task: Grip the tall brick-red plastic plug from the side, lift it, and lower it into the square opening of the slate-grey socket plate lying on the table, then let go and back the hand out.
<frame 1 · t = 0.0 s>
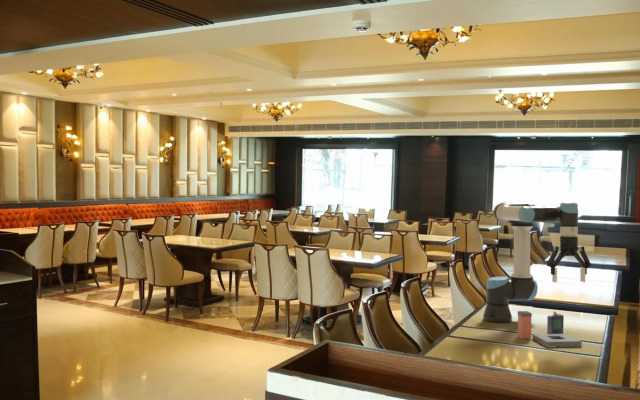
hand: (568, 281, 257), 28 cm above the table, tool pointing down, fingers open, 13 cm apart
socket plate: (556, 343, 256), on the table
flask: (555, 333, 274), on the table
plug: (524, 337, 266), on the table
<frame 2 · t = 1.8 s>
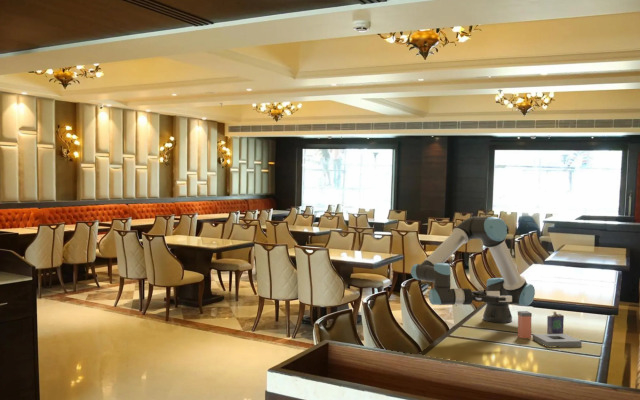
hand: (505, 296, 265), 20 cm above the table, tool horizontal, fingers open, 13 cm apart
nothing on the table moved.
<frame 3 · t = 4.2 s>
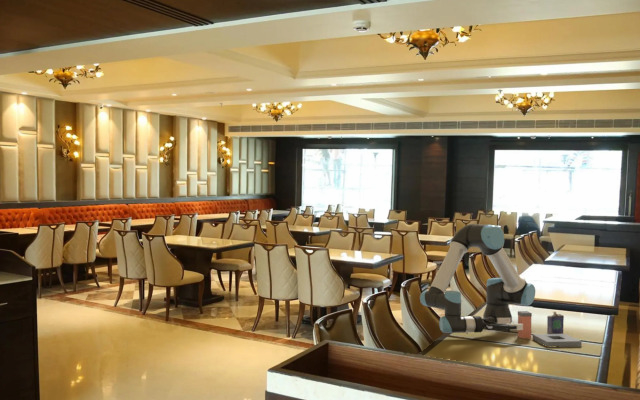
hand: (516, 323, 265), 7 cm above the table, tool horizontal, fingers open, 13 cm apart
nothing on the table moved.
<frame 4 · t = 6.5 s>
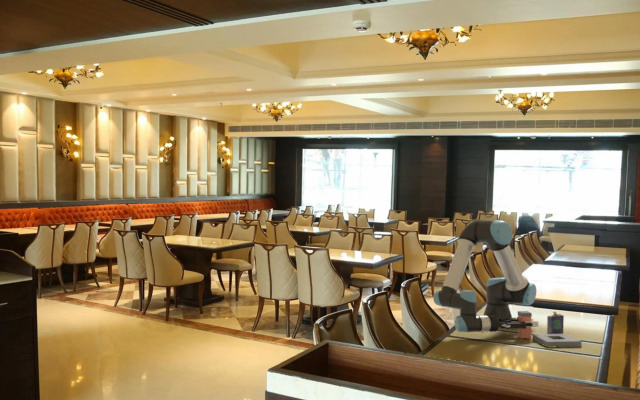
hand: (535, 322, 266), 7 cm above the table, tool horizontal, fingers closed on plug, 4 cm apart
plug: (524, 337, 266), on the table, touching gripper
everything else where it was.
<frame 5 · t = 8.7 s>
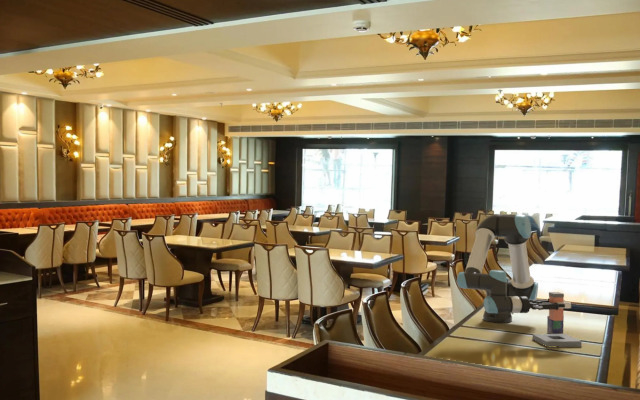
hand: (567, 304, 256), 18 cm above the table, tool horizontal, fingers closed on plug, 4 cm apart
plug: (556, 319, 256), point 11 cm above the table, touching gripper
everything else where it was.
when the fingers open (8 cm above the table, at t = 11.0 s): plug drops 1 cm, resting in socket plate.
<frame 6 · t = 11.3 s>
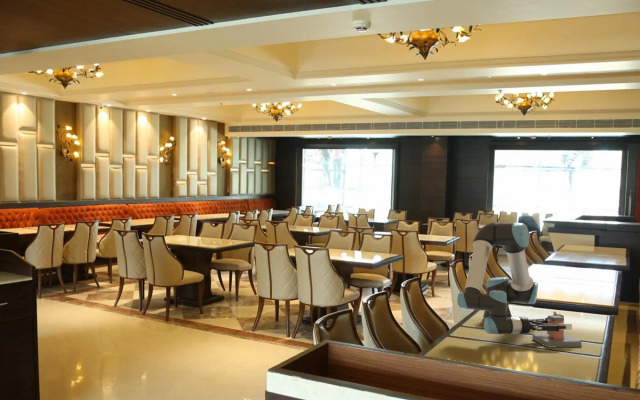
hand: (566, 324, 256), 8 cm above the table, tool horizontal, fingers open, 8 cm apart
plug: (556, 343, 255), resting in socket plate
everything else where it was.
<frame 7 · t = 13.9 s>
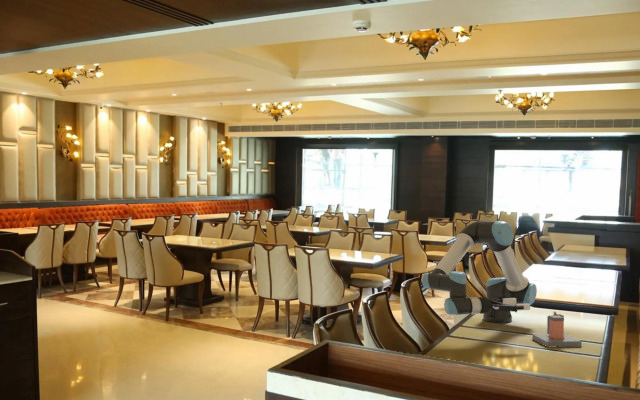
hand: (522, 303, 258), 18 cm above the table, tool horizontal, fingers open, 13 cm apart
nothing on the table moved.
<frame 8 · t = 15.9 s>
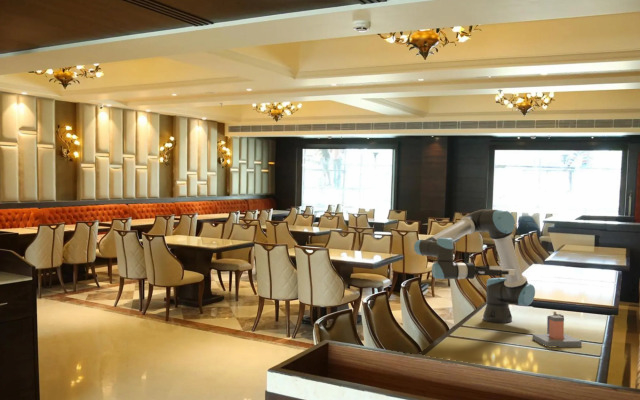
hand: (508, 270, 266), 32 cm above the table, tool horizontal, fingers open, 13 cm apart
nothing on the table moved.
at the end: plug 0.1 cm off-centre on the socket plate, point 0.0 cm above the socket plate's base; plug tilted 0°; the gripper is holding nothing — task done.
